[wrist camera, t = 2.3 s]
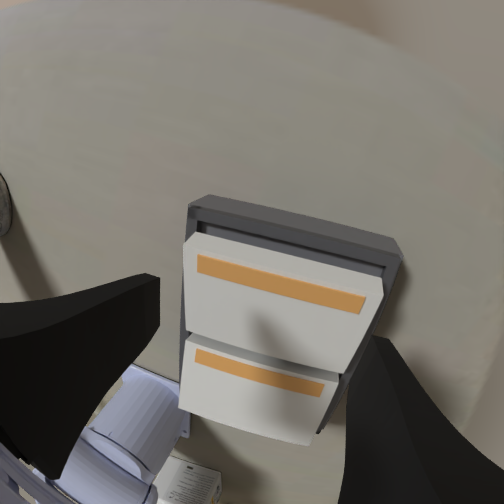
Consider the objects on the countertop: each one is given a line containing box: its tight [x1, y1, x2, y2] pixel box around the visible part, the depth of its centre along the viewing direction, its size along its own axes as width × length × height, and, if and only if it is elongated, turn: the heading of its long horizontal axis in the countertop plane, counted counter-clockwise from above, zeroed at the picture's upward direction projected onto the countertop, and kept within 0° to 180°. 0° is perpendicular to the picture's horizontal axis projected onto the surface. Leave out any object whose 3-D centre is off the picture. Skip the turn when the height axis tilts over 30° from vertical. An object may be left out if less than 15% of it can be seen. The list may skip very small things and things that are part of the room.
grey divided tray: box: [179, 195, 404, 434], centre depth 20 cm, size 15×12×4 cm
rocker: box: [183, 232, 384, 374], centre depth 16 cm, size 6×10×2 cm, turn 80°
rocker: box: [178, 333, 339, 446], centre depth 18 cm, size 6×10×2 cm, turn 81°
